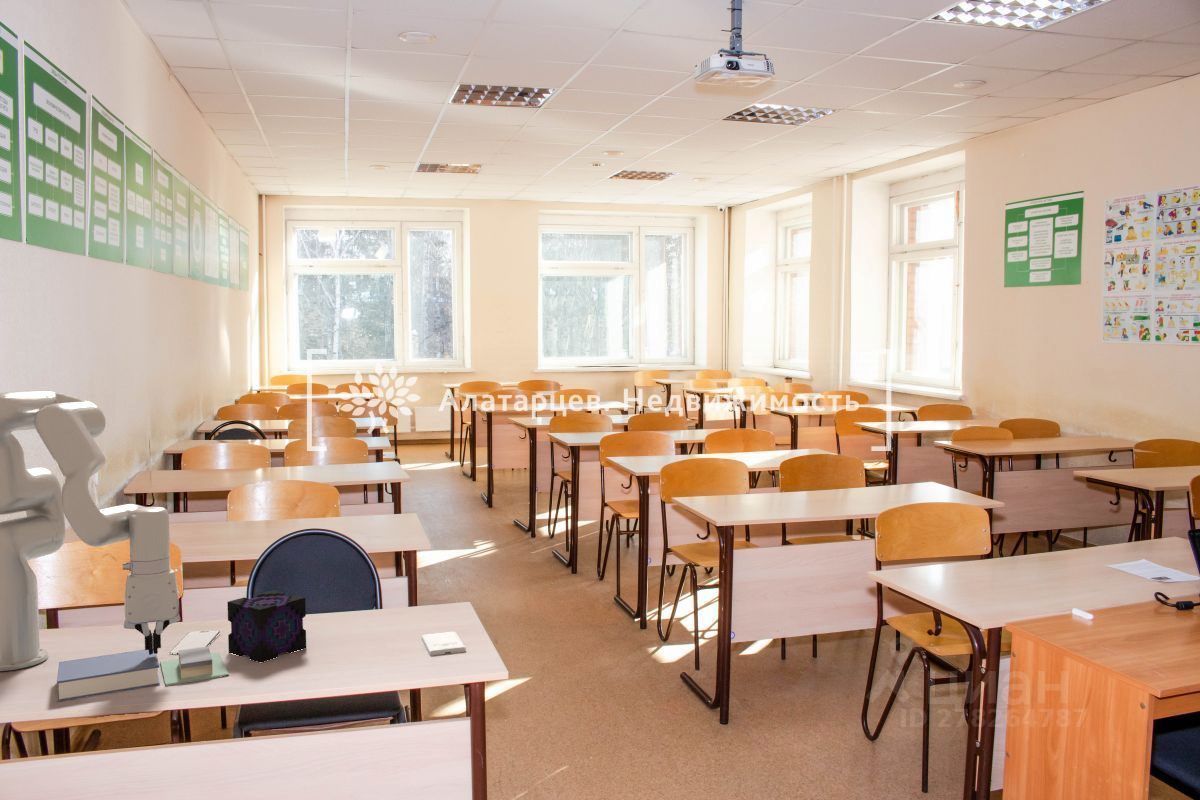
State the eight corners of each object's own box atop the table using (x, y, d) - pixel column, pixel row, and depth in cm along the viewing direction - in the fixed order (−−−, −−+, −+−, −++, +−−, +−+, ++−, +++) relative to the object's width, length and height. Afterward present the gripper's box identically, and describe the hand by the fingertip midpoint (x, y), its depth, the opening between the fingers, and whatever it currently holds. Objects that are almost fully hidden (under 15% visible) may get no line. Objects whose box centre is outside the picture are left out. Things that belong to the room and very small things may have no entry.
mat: (160, 663, 197) (160, 661, 197) (219, 654, 203) (219, 652, 203) (165, 686, 183) (165, 684, 183) (228, 675, 189) (228, 673, 189)
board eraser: (208, 646, 198) (208, 659, 198) (178, 650, 195) (179, 664, 196) (212, 659, 189) (212, 673, 189) (180, 664, 187) (181, 678, 187)
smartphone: (167, 653, 203) (189, 631, 218) (168, 658, 203) (189, 636, 218) (201, 651, 204) (221, 630, 219) (201, 656, 204) (221, 634, 219)
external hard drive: (455, 637, 216) (465, 653, 204) (421, 641, 213) (429, 657, 202) (455, 631, 216) (465, 646, 204) (421, 634, 213) (429, 650, 202)
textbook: (59, 681, 187) (58, 662, 186) (155, 666, 195) (155, 648, 195) (57, 701, 175) (56, 681, 175) (159, 684, 184) (159, 665, 184)
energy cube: (274, 639, 214) (273, 590, 213) (306, 648, 207) (305, 597, 207) (228, 653, 204) (227, 601, 203) (260, 663, 197) (259, 609, 197)
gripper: (110, 574, 181) (113, 663, 182) (191, 565, 189) (193, 651, 190) (109, 567, 188) (112, 653, 189) (187, 558, 195) (190, 641, 196)
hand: (153, 652), depth 189 cm, fingers closed
